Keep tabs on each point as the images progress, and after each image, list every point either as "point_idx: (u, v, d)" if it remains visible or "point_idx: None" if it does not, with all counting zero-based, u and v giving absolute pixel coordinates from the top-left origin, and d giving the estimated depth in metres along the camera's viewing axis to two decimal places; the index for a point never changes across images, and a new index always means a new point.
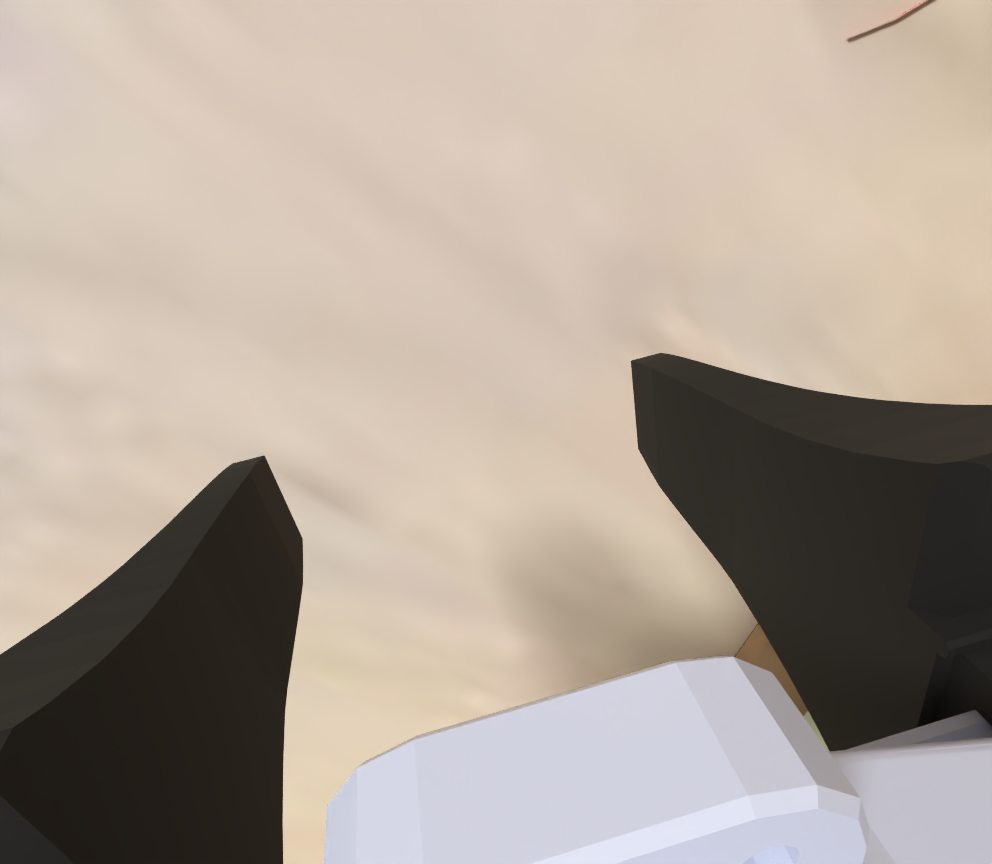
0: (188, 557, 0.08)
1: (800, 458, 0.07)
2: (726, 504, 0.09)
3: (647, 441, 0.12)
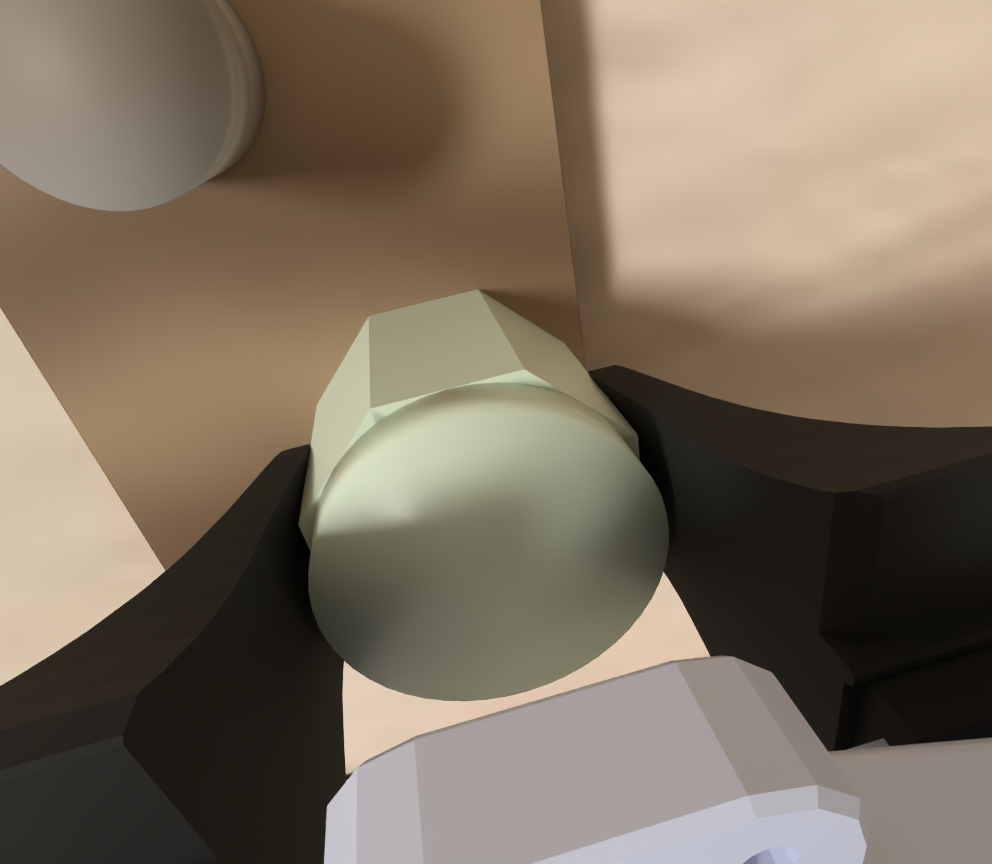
0: (258, 538, 0.08)
1: (725, 480, 0.07)
2: (669, 520, 0.09)
3: None
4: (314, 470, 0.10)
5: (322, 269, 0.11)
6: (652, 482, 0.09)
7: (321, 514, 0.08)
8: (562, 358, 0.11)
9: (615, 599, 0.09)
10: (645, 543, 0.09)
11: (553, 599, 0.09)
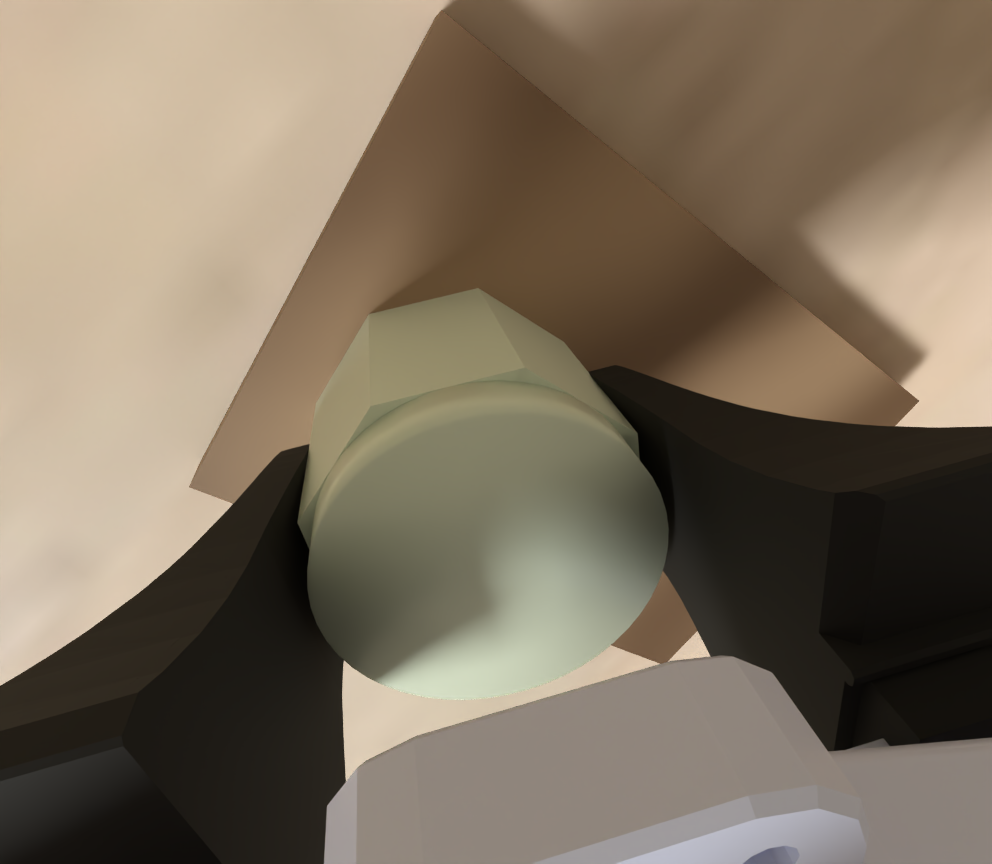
0: (258, 538, 0.08)
1: (726, 479, 0.07)
2: (669, 520, 0.09)
3: None
4: None
5: None
6: (544, 416, 0.08)
7: None
8: (457, 324, 0.10)
9: (624, 517, 0.09)
10: (598, 461, 0.08)
11: (566, 556, 0.09)
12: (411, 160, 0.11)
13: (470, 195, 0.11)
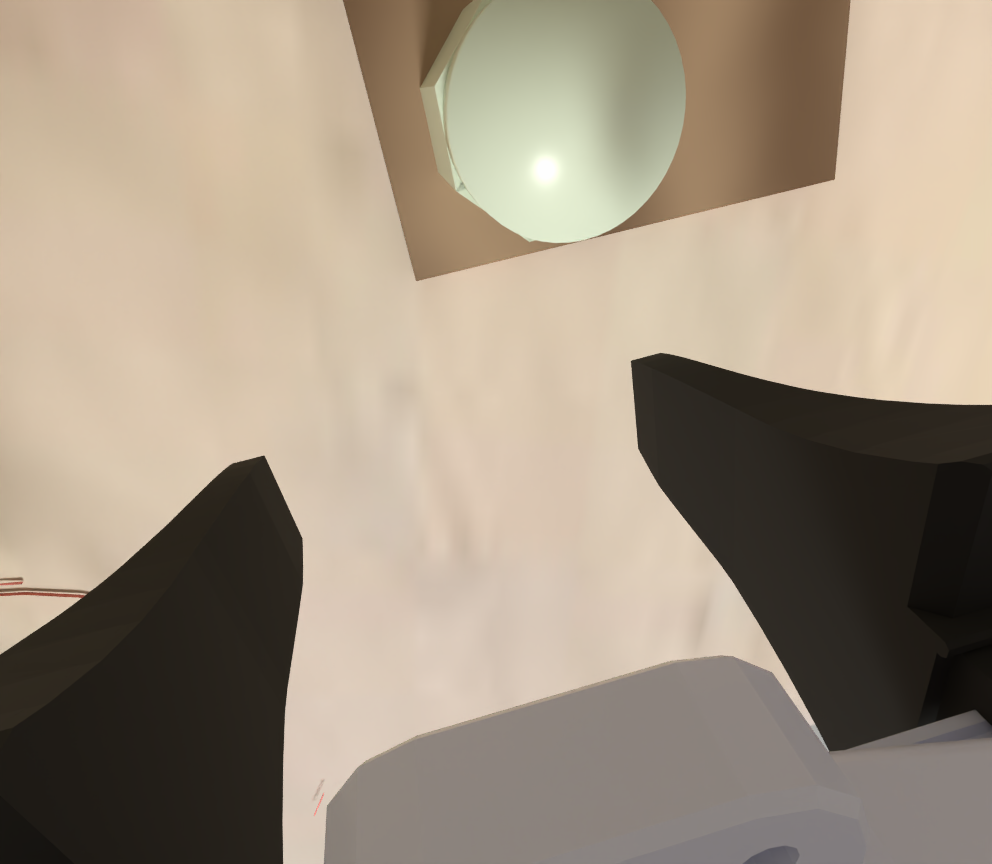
0: (188, 557, 0.08)
1: (800, 458, 0.07)
2: (726, 504, 0.09)
3: (647, 441, 0.12)
4: None
5: None
6: (468, 187, 0.13)
7: None
8: None
9: (483, 75, 0.12)
10: (466, 132, 0.13)
11: (531, 85, 0.13)
12: None
13: None
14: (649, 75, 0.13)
